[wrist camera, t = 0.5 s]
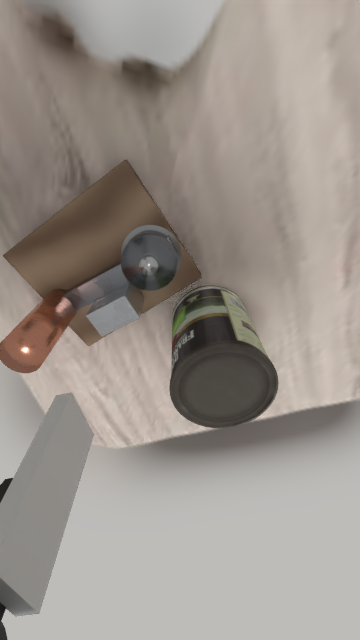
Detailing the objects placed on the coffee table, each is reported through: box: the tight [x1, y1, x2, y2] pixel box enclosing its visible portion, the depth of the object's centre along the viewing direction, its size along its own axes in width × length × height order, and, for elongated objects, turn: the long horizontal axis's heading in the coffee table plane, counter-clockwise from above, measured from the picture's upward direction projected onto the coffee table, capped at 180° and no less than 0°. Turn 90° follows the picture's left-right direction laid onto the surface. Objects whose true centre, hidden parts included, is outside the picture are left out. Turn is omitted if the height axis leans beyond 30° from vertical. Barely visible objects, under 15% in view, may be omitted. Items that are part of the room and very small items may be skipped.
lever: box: [0, 230, 179, 373], centre depth 31 cm, size 18×7×11 cm, turn 118°
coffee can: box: [170, 286, 278, 428], centre depth 35 cm, size 10×10×14 cm
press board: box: [3, 160, 201, 346], centre depth 36 cm, size 15×18×2 cm
